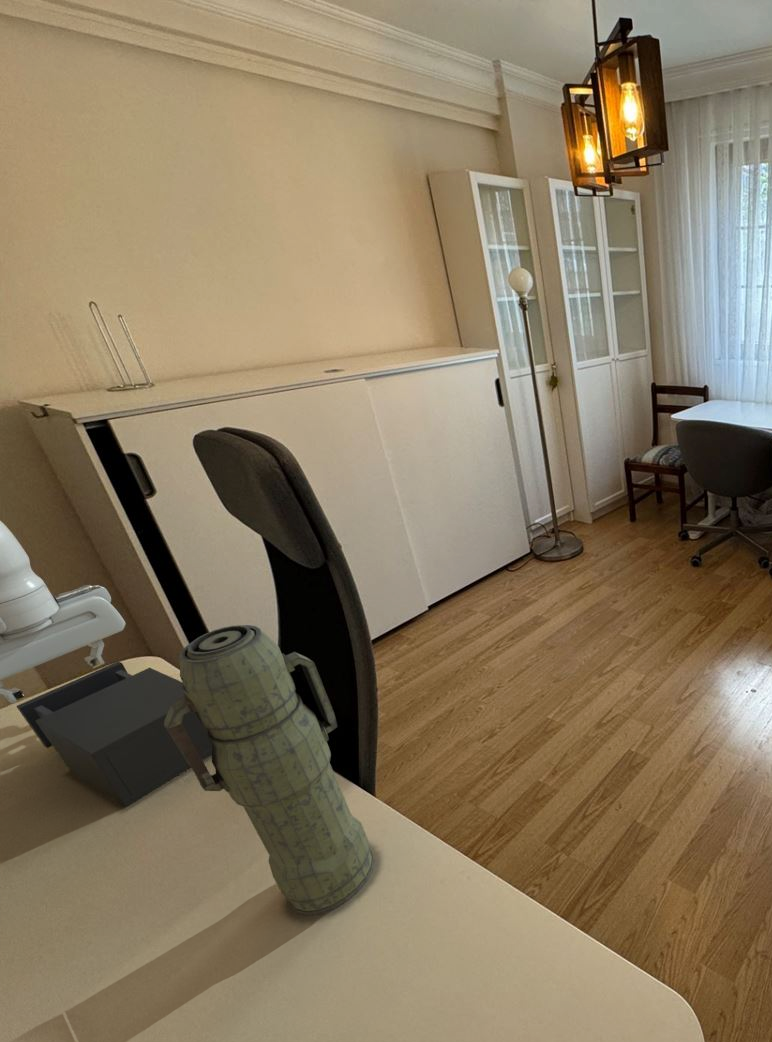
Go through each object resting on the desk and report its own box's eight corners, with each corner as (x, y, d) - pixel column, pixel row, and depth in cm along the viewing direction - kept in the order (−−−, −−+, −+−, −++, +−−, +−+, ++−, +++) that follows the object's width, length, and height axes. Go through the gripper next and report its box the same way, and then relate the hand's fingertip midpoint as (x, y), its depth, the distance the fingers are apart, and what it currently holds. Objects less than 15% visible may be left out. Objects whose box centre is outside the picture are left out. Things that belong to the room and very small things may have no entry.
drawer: (31, 737, 88) (3, 698, 84) (126, 692, 98) (105, 655, 94) (90, 775, 81) (62, 733, 77) (187, 721, 91) (166, 682, 87)
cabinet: (70, 771, 83) (34, 720, 79) (176, 715, 94) (149, 667, 89) (126, 807, 77) (90, 753, 73) (231, 742, 88) (206, 692, 83)
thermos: (259, 902, 65) (118, 658, 50) (362, 825, 74) (268, 599, 59) (296, 944, 60) (153, 691, 46) (400, 857, 69) (310, 622, 55)
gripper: (92, 576, 95) (130, 643, 101) (-102, 641, 78) (-43, 717, 84) (110, 583, 93) (148, 650, 99) (-85, 651, 76) (-25, 728, 82)
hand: (59, 682), depth 91 cm, fingers open, 8 cm apart
